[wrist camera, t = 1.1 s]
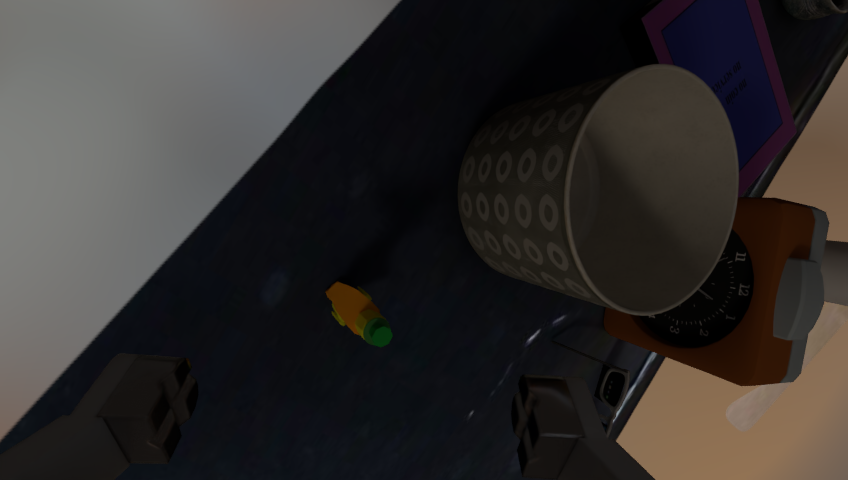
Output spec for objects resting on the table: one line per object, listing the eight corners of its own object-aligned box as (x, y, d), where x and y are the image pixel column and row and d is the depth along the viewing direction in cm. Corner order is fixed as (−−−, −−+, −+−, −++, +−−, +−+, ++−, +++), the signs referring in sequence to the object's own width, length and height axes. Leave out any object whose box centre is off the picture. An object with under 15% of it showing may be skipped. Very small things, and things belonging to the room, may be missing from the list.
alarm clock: (620, 193, 56) (816, 197, 37) (665, 202, 60) (864, 209, 41) (599, 332, 57) (778, 403, 38) (644, 332, 61) (827, 396, 42)
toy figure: (298, 279, 40) (325, 314, 29) (327, 253, 41) (364, 277, 30) (345, 327, 42) (386, 375, 32) (371, 301, 43) (420, 340, 32)
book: (739, -66, 55) (796, 132, 66) (714, -54, 58) (774, 134, 68) (641, 18, 50) (721, 218, 60) (619, 27, 53) (700, 217, 63)
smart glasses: (594, 450, 58) (619, 471, 54) (506, 417, 55) (524, 436, 50) (628, 369, 59) (656, 383, 54) (543, 331, 56) (565, 342, 51)
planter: (502, 68, 46) (653, 4, 30) (603, 172, 54) (767, 166, 38) (410, 215, 44) (520, 232, 28) (530, 302, 52) (671, 355, 35)
